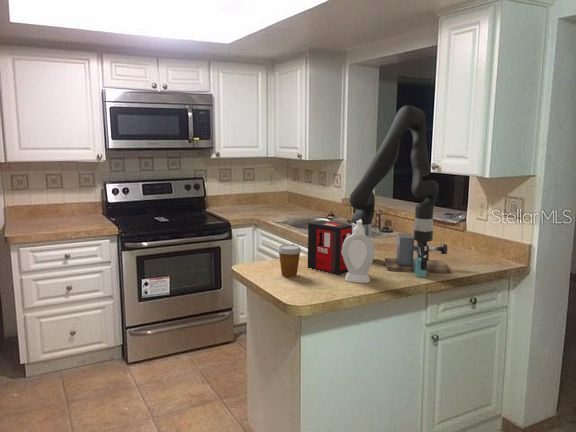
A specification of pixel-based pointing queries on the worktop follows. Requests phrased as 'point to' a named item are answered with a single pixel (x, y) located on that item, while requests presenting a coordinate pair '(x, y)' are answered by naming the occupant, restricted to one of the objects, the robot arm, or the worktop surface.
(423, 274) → the block
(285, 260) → the disposable coffee cup
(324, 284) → the worktop surface
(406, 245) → the housing
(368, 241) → the soap bottle
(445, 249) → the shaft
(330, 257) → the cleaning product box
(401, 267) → the base board
